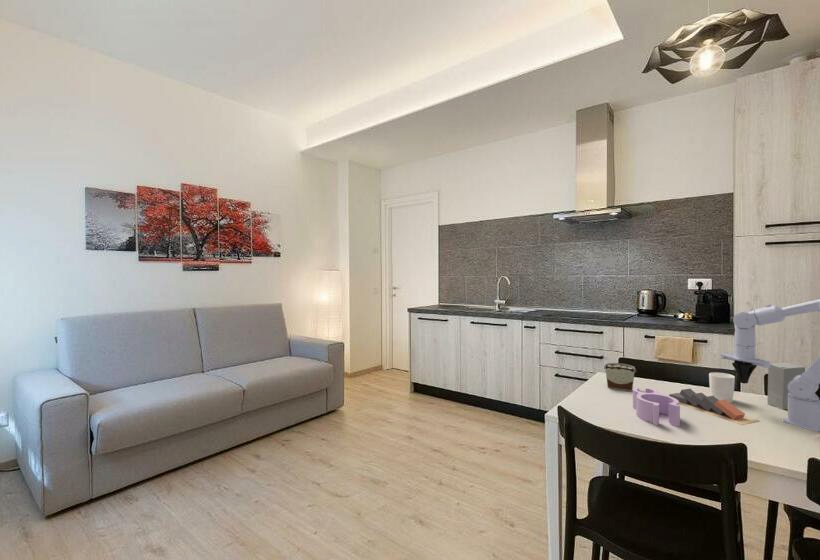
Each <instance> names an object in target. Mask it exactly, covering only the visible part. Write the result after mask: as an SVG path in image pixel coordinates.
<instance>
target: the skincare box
mask: <svg viewBox="0 0 820 560" xmlns="http://www.w3.org/2000/svg"><path fill="white" fill-rule="evenodd" d="M767 371H768V372H767V404H768V405H769V404H771V405H770V406H772V405H773V407H775V406H776V407H775V408H777V407H779V408H778V409H780V408H782V409H787V410H788V393H790V392H789V391H788V384H789V382H790V381H792V380H793V378H794V377H796V376H797V375H801V374H803V373H804V372H805V371H806V366H802V365H799V364H796V363H792V362H779V363H777V362H776V363H770V367H769V368H767ZM782 409H781V410H782Z"/></svg>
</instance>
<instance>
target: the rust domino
mask: <svg viewBox="0 0 820 560" xmlns="http://www.w3.org/2000/svg"><path fill="white" fill-rule="evenodd" d="M714 405H715V406H716V407H718V408H719V409H720V410H721V411H723V412H724V413H725V414H727V415H728V416H729V417H731V418H732V419H733V420H735V419H740V418H743V417H744V416H745V415H746V413H745V412H743V411H742V410H741V409H740V408H738V407H736V405H733V404H732V402H731V403H730V402H728V401H727V400H726V399H725V400H720V401H716V403H715V404H714Z"/></svg>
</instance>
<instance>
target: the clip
mask: <svg viewBox="0 0 820 560" xmlns="http://www.w3.org/2000/svg"><path fill="white" fill-rule="evenodd" d="M632 408H633V410H636V411H635V412H636V413H635V414H636V417H637V418H638V417H639V418H638V419H639V420H641V421H644V420H645V421H644V422H647V421H649V422H648V423H650V422H653V423H652V425H653V424H654V425H653V426H655V425H658V424H659V425H660V414H663V415H666V416H668V424H669V423H670V425H672V426H675V427H680V426H681V419H680V418H681V417H680V416H681V405H680V404H679V401H678V400H677V399H675V398H673V397H670V396H669V395H667V394H662V393H661V392H660V391H659V390H658V389H654V388H650V387H645V392H643V391H640V388H639V387H633V389H632ZM659 425H658V426H659Z"/></svg>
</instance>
